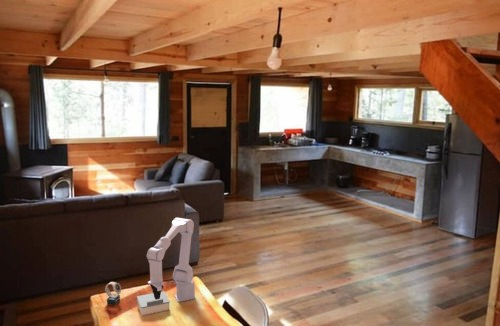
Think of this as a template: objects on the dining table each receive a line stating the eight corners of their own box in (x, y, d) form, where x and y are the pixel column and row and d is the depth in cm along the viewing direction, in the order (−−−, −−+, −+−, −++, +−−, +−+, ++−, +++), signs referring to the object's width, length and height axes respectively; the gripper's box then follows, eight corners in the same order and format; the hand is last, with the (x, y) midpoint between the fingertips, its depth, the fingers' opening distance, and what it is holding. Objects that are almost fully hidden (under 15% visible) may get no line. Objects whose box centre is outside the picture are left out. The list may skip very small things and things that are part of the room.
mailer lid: (164, 291, 220) (164, 287, 220) (169, 302, 209) (169, 298, 209) (136, 297, 214) (136, 293, 214) (140, 308, 203) (140, 304, 203)
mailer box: (164, 299, 221) (164, 292, 220) (169, 310, 210) (169, 302, 209) (137, 304, 215) (137, 297, 214) (141, 316, 204) (141, 308, 204)
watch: (118, 305, 214) (117, 285, 213) (104, 304, 216) (102, 284, 214) (123, 300, 220) (122, 281, 218) (109, 299, 221) (108, 279, 219)
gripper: (144, 267, 204) (146, 293, 206) (150, 279, 191) (151, 306, 193) (159, 265, 206) (160, 290, 209) (165, 277, 193) (166, 303, 196)
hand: (157, 298), depth 201 cm, fingers closed
